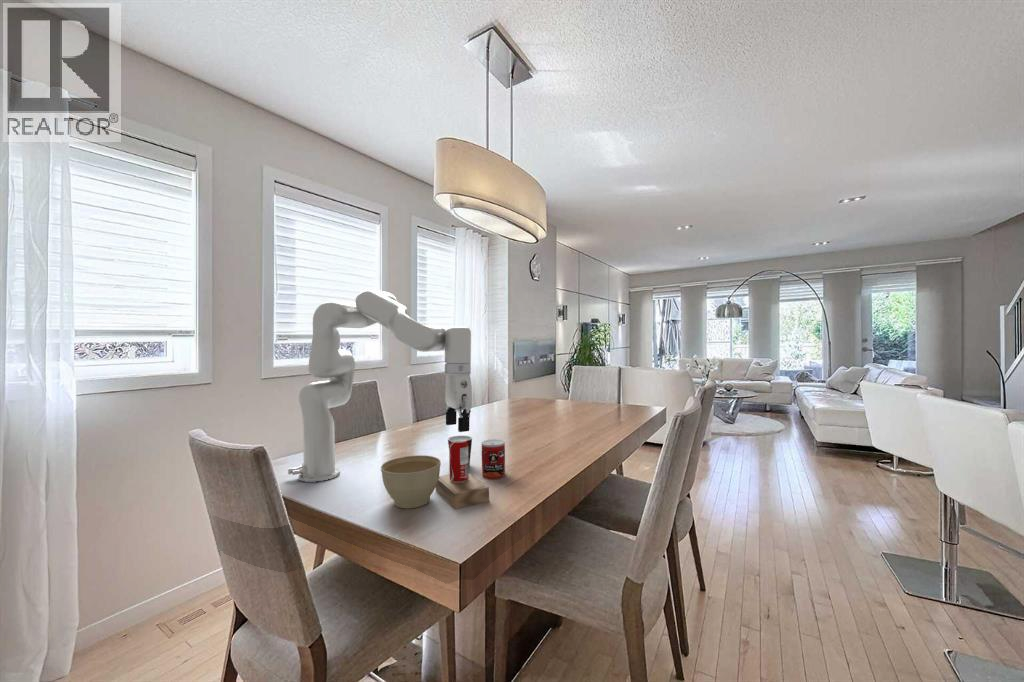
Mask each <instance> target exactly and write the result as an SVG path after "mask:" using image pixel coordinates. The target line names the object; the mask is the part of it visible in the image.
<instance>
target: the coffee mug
mask: <svg viewBox="0 0 1024 682" xmlns="http://www.w3.org/2000/svg"><path fill="white" fill-rule="evenodd" d="M454 438H466V439H467V442H468V463H469V467H470V465H471V455H472V454H471V453H472V444H473V443H472V442H473V437H472V436H470V435H452V436H450V437H448V438H447V444H448V446H449V445H450V440H451V439H454Z"/></svg>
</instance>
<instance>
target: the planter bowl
mask: <svg viewBox="0 0 1024 682" xmlns="http://www.w3.org/2000/svg"><path fill="white" fill-rule="evenodd" d="M441 462H442V461H441V459H439V458H438V457H436V456H433V455H425V454H424V455H422V454H421V455H420V454H419V455H417V454H416V455H407V456H401V457H396V458H392V459H389V460H387V461H385V462H383V463H382V464H381V466H380V472H381V476H382V477H381V478H382V482H383V485H384V488H385V490H386V492H387V494H388V495H389V497H390V498H391V499H392V500H393V502H394V505H395V506H396V507H398V508H400V509H413V508H415V509H416V508H418V507H421V506H424V505H427V504H428V503H429V501H430V499H431V495H432V494H433V492H434V491H435V490H436V485H437V482H438V479H439V476H440V473H441V469H440V468H441V465H442V464H441Z"/></svg>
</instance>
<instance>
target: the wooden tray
mask: <svg viewBox="0 0 1024 682" xmlns="http://www.w3.org/2000/svg"><path fill="white" fill-rule="evenodd" d="M435 491H436V492H437V494H439V495H440V496H441V497H442V498H443V499H444V500H445V501H446V502H447V503H448V504H450V506H451V507H452V508H454V509H455V510H458V509H462V508H465V507H467V508H468V507H470V506H475V505H479V504H480V505H481V504H482V503H488V501H489V502H490V487H489V486H488V485H487V484H485V483H484V482H483V481H481V480H480V479H478V478H477V477H476V476H473V474H471V473H469V479H468V480H467V481H466V482H462V483H454V482H451V480H450V473H449V474H445V475H439V479H438V482H437V485H436V487H435Z"/></svg>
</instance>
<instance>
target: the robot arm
mask: <svg viewBox="0 0 1024 682" xmlns="http://www.w3.org/2000/svg"><path fill="white" fill-rule="evenodd" d="M355 297H356V298H355V302H352V301H351V302H350V301H342V300H341V301H340V300H331V301H330V300H329V301H326V302H323V303H321V304H319V306H317V308H316V309H315V310H314V313H313V317H312V336H311V337H312V339H311V344H310V352H309V359H308V372H309V374H310V376H311V377H313V378H315V379H328V378H329V380H320V381H314V382H310V383H308V384H305V385H304V386H303V387H302V388H301V389H300V391H299V394H298V402H299V405H300V406H299V407H300V410H301V417H302V436H303V439H302V442H303V447H302V448H303V449H302V451H303V462H302V464H301V465H299V466H296V467H288V468H287V474H288V475H292V476H294V475H298V480H299V481H300V480H301V482H303V481H305V483H316V481H319V482H323V481H324V480H325V481H327V480H328V479H329V480H332V479H334V477H335V478H337V477H338V476H339V475H340V474H341V469H340V468H338V467H336V454H335V453H336V448H335V445H336V444H335V442H336V441H335V440H336V439H335V421H334V417H333V415H332V413H331V410H330V409H332V408H336V407H337V408H338V407H340V406H344V405H346V403H348V402H349V400H350V398H351V396H352V392H353V384H354V379H355V371H356V370H355V369H356V361H355V357H354V356H353V354H352V353H351V352H350V351H349V350H347V349H341V348H340V344H341V336H340V332H339V329H338V328H347V329H362V328H367V327H370V326H372V325H375V324H379V325H381V326H383V327H385V328H386V329H388V330H390V332H391V334H392V335H393V336H394V337H395V338H396V339H397V340H398V341H399V342H400V343H403V344H404V345H406V346H408V347H410V348H412V349H413V350H416V351H419V352H423V353H425V352H426V353H427V352H441V351H442V352H443V351H444V375H446V377H445V393H444V394H445V396H444V397H445V400H444V402H445V403H444V404H445V425H446V426H452V425H457V431H458V432H459V433H463V432H469V431H470V418H471V412H472V411H471V409H472V408H473V389H472V378H471V375H472V371H471V370H472V365H471V364H472V363H471V362H472V358H471V357H472V351H471V350H472V331H471V329H470V327H467V326H449V327H447V326H442V325H425V324H423V323H420V322H419V321H416V320H414V319H413V318H411V316H409V310H408V308H407V307H406V306H405V305H403V304H401V303H399V302H398V300H397V298H396V296H395V295H394V294H392V293H391V292H387V291H383V290H382V291H381V290H377V289H365V290H362V291H361V292H359V293H358V294H357V296H355ZM457 414H458V415H457ZM457 416H459V417H458V419H457ZM336 476H337V477H336ZM325 481H324V482H325Z"/></svg>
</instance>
